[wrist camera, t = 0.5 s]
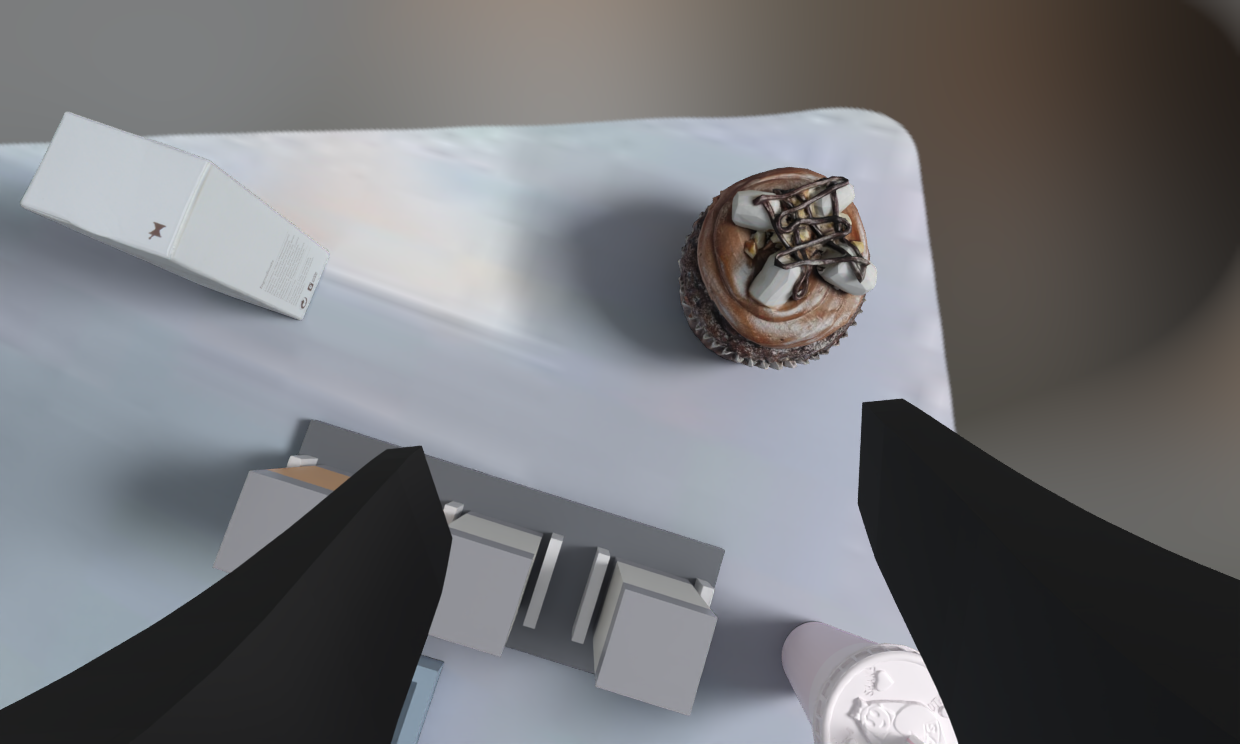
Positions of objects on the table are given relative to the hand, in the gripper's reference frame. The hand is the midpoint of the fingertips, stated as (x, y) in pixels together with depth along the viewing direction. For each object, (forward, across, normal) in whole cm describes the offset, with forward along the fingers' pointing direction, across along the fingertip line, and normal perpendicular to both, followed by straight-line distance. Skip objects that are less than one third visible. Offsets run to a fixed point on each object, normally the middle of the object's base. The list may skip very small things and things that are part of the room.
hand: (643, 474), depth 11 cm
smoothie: (+16, -6, +25) cm, 31 cm away
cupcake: (+27, -5, +9) cm, 29 cm away
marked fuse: (+18, +17, +14) cm, 28 cm away
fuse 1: (+17, +10, +18) cm, 26 cm away
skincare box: (+26, +21, +3) cm, 33 cm away
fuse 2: (+16, +2, +21) cm, 26 cm away
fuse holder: (+18, +10, +18) cm, 27 cm away
